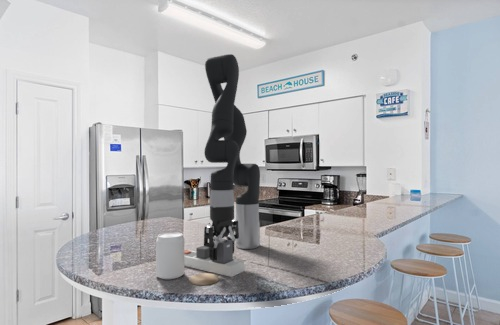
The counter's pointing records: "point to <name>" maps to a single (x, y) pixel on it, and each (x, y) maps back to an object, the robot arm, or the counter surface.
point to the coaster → (204, 279)
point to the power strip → (203, 262)
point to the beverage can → (170, 255)
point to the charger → (224, 251)
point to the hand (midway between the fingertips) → (222, 256)
